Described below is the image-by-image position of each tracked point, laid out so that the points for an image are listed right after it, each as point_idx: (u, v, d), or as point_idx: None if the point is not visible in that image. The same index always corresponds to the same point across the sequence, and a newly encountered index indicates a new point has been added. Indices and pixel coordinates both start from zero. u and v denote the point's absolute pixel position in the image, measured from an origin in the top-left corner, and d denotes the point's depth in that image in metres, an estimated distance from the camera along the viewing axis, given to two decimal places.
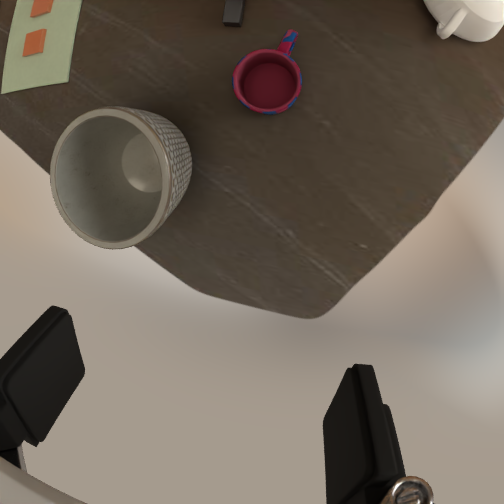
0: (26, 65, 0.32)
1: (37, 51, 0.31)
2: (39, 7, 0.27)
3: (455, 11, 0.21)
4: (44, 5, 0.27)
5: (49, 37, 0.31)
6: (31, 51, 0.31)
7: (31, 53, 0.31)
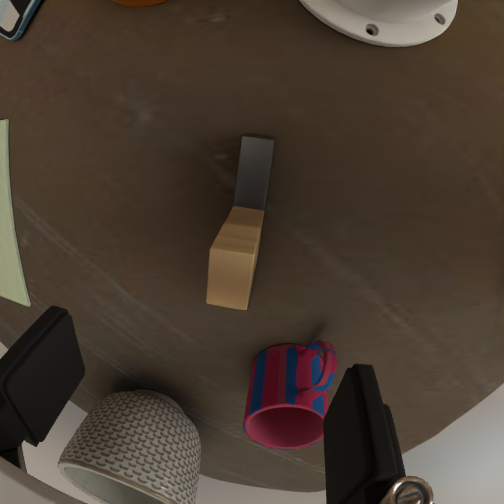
0: None
1: None
2: None
3: None
4: None
5: None
6: None
7: None
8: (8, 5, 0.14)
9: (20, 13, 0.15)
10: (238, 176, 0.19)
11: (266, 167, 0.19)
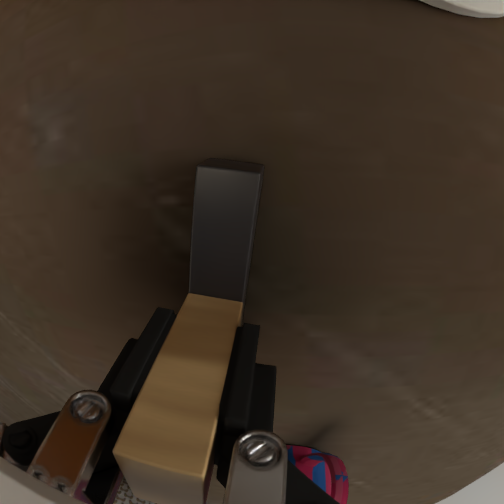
0: None
1: None
2: None
3: None
4: None
5: None
6: None
7: None
8: None
9: None
10: (194, 243, 0.10)
11: (245, 228, 0.10)
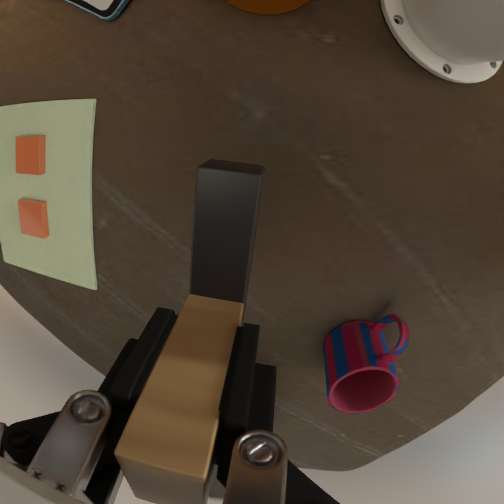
0: (29, 242, 0.30)
1: (42, 237, 0.28)
2: (26, 162, 0.25)
3: None
4: (34, 163, 0.25)
5: (54, 217, 0.28)
6: (33, 233, 0.28)
7: (33, 235, 0.29)
8: None
9: None
10: (194, 244, 0.10)
11: (246, 229, 0.10)
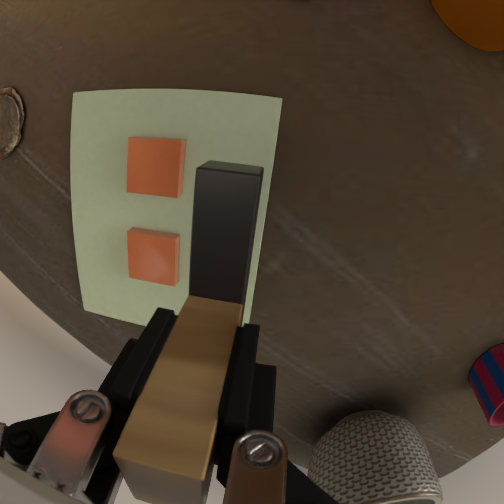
0: (137, 288, 0.26)
1: (170, 284, 0.24)
2: (151, 177, 0.21)
3: None
4: (167, 179, 0.21)
5: None
6: (153, 278, 0.24)
7: (153, 280, 0.24)
8: None
9: None
10: (193, 245, 0.10)
11: (245, 230, 0.10)
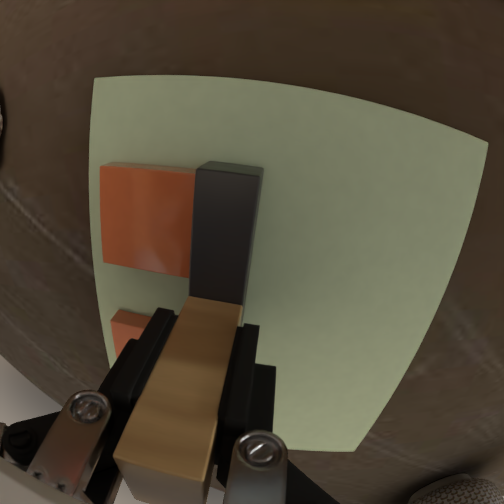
0: None
1: None
2: (144, 241, 0.11)
3: None
4: (174, 246, 0.11)
5: (314, 371, 0.15)
6: None
7: None
8: None
9: None
10: (193, 246, 0.10)
11: (245, 231, 0.10)
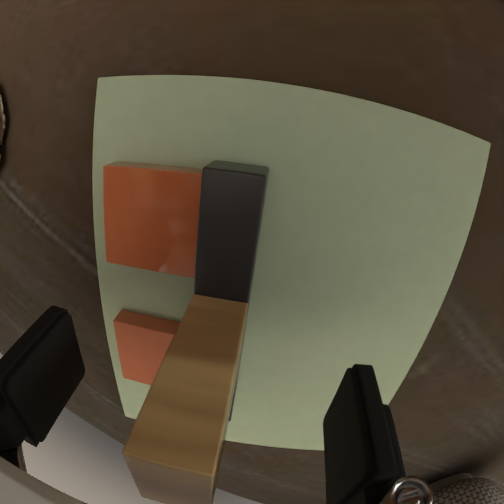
0: None
1: None
2: (147, 241, 0.11)
3: None
4: (178, 246, 0.11)
5: (318, 371, 0.15)
6: None
7: None
8: None
9: None
10: (199, 244, 0.10)
11: (251, 229, 0.10)
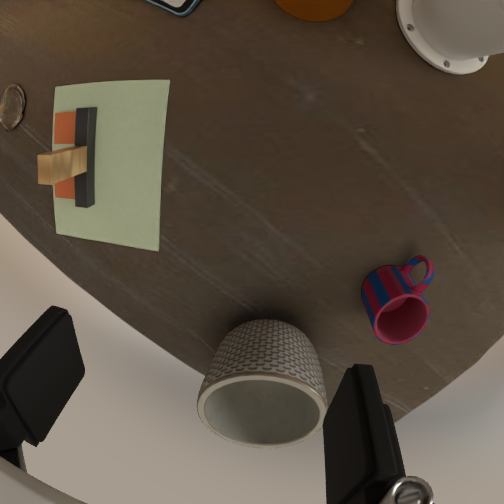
0: (89, 210, 0.36)
1: None
2: (65, 133, 0.31)
3: None
4: (72, 133, 0.31)
5: (121, 184, 0.34)
6: (67, 195, 0.34)
7: (67, 197, 0.34)
8: None
9: None
10: (75, 129, 0.30)
11: (86, 122, 0.30)
